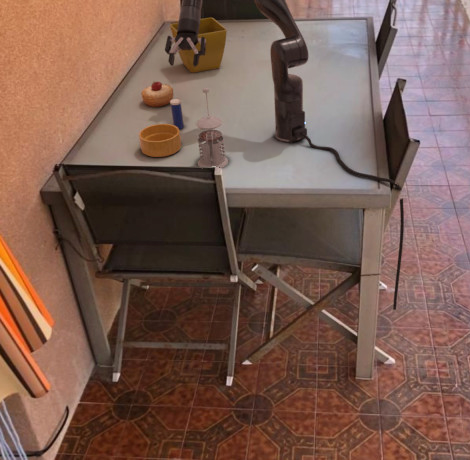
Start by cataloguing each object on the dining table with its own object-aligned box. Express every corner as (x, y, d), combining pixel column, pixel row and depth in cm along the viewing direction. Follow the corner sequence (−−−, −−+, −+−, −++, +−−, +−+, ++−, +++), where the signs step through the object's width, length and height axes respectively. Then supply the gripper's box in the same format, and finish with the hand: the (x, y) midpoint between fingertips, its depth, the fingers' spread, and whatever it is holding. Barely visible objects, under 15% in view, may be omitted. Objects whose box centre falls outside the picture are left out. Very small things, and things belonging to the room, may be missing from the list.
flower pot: (230, 69, 274) (227, 29, 265) (186, 77, 269) (182, 37, 259) (215, 55, 289) (212, 17, 279) (174, 63, 284) (169, 24, 274)
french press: (228, 153, 213) (222, 80, 198) (228, 171, 203) (222, 96, 189) (198, 155, 213) (189, 82, 198) (196, 173, 203) (188, 98, 189)
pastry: (179, 96, 253) (176, 74, 248) (167, 109, 244) (164, 87, 239) (150, 95, 256) (147, 73, 251) (138, 107, 247) (134, 85, 242)
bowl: (189, 149, 217) (187, 132, 213) (154, 162, 210) (151, 145, 207) (168, 136, 225) (166, 120, 222) (134, 148, 219) (131, 132, 216)
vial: (186, 127, 230) (182, 100, 225) (177, 130, 229) (173, 104, 223) (180, 124, 233) (177, 97, 227) (171, 127, 231) (168, 100, 225)
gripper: (166, 16, 230) (160, 60, 228) (205, 17, 227) (199, 61, 225) (173, 26, 237) (167, 69, 235) (211, 27, 234) (205, 70, 232)
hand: (183, 65), depth 230 cm, fingers open, 8 cm apart
